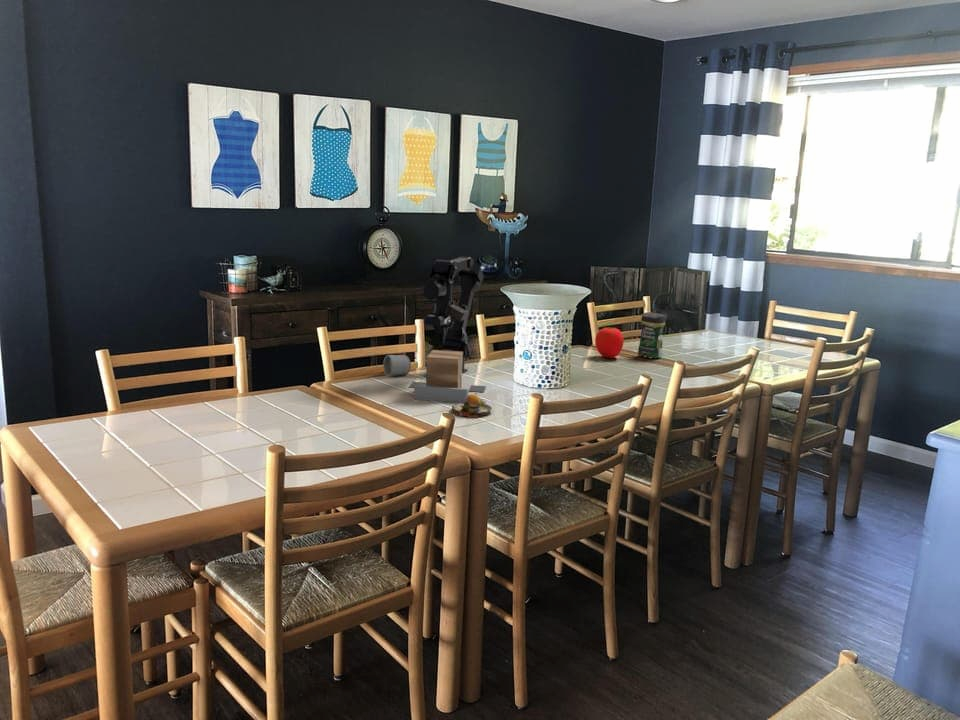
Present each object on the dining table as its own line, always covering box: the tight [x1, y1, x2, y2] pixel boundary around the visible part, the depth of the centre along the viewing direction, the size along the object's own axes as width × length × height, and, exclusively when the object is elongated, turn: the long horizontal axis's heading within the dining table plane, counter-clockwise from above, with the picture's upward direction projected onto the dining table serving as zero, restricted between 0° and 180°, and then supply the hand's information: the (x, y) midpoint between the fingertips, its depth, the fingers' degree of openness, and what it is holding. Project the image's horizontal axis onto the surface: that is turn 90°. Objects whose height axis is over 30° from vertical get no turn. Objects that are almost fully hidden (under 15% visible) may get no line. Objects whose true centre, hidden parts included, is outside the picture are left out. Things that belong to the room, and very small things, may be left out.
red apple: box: [594, 326, 625, 359], centre depth 317 cm, size 11×11×13 cm
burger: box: [451, 392, 493, 419], centre depth 230 cm, size 12×12×8 cm
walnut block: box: [425, 349, 463, 388], centre depth 250 cm, size 12×10×13 cm
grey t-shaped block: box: [413, 385, 470, 403], centre depth 246 cm, size 8×16×4 cm, turn 85°
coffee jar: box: [637, 311, 666, 359], centre depth 322 cm, size 10×8×19 cm
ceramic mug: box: [382, 354, 412, 377], centre depth 274 cm, size 10×8×7 cm
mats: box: [408, 381, 487, 393], centre depth 259 cm, size 8×25×1 cm, turn 85°
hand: (441, 342), depth 267 cm, fingers closed
